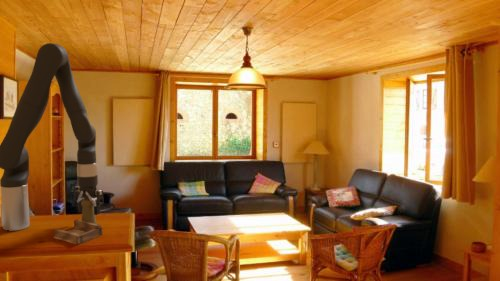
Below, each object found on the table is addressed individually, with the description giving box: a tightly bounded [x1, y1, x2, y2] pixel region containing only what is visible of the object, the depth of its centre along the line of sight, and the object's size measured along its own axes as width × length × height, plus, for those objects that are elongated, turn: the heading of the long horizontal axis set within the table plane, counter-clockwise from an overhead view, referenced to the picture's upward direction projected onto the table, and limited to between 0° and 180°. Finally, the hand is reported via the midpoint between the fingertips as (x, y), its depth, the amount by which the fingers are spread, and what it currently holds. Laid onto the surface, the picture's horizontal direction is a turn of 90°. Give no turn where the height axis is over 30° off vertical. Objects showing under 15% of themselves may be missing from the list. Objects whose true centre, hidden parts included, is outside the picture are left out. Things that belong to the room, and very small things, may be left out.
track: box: [53, 219, 103, 246], centre depth 153 cm, size 13×11×4 cm
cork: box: [80, 198, 97, 224], centre depth 166 cm, size 6×6×11 cm
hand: (89, 212), depth 166 cm, fingers open, 8 cm apart
